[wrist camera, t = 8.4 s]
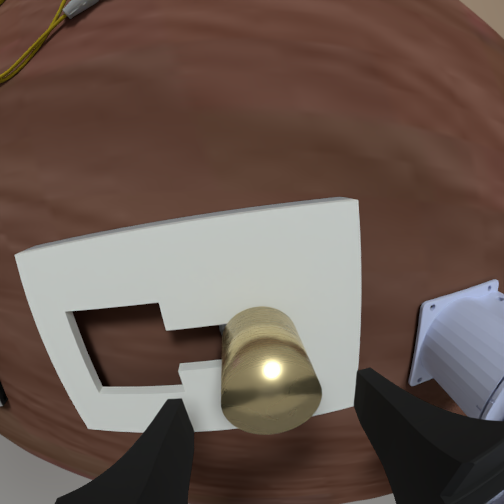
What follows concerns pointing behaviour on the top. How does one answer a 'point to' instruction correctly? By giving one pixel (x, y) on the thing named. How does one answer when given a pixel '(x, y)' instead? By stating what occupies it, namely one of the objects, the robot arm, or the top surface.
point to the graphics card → (2, 396)
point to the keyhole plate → (204, 298)
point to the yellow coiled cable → (74, 7)
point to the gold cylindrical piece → (266, 373)
